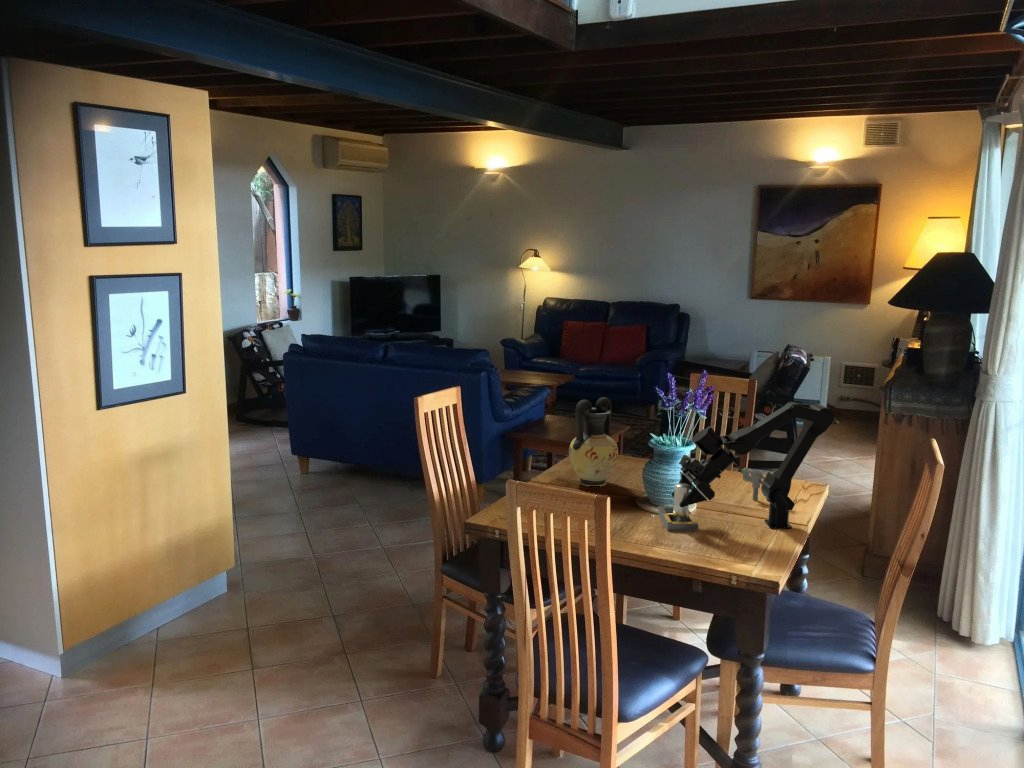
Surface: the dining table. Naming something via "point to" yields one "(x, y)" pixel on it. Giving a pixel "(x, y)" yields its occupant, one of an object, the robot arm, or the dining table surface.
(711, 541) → the dining table surface
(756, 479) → the mechanical component
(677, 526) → the grey tray
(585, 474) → the amphora
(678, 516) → the steel peg
